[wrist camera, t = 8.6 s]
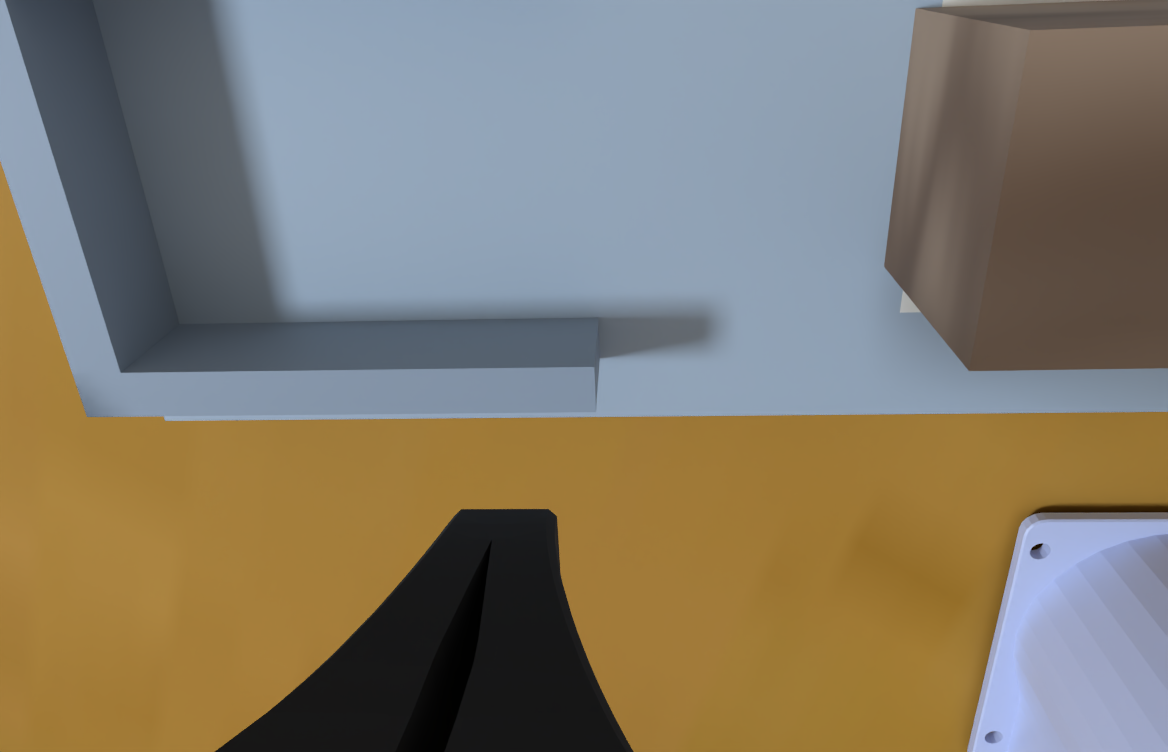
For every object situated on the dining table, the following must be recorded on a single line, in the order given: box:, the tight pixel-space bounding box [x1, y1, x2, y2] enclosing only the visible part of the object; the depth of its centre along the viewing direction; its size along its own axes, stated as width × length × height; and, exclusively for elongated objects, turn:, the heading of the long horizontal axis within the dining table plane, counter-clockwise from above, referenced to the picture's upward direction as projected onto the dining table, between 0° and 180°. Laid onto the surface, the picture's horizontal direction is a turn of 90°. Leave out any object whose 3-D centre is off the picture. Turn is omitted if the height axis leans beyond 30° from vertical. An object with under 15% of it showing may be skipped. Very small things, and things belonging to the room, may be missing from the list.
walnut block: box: [884, 0, 1168, 371], centre depth 14 cm, size 5×5×5 cm
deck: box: [0, 0, 1168, 421], centre depth 16 cm, size 17×24×4 cm
